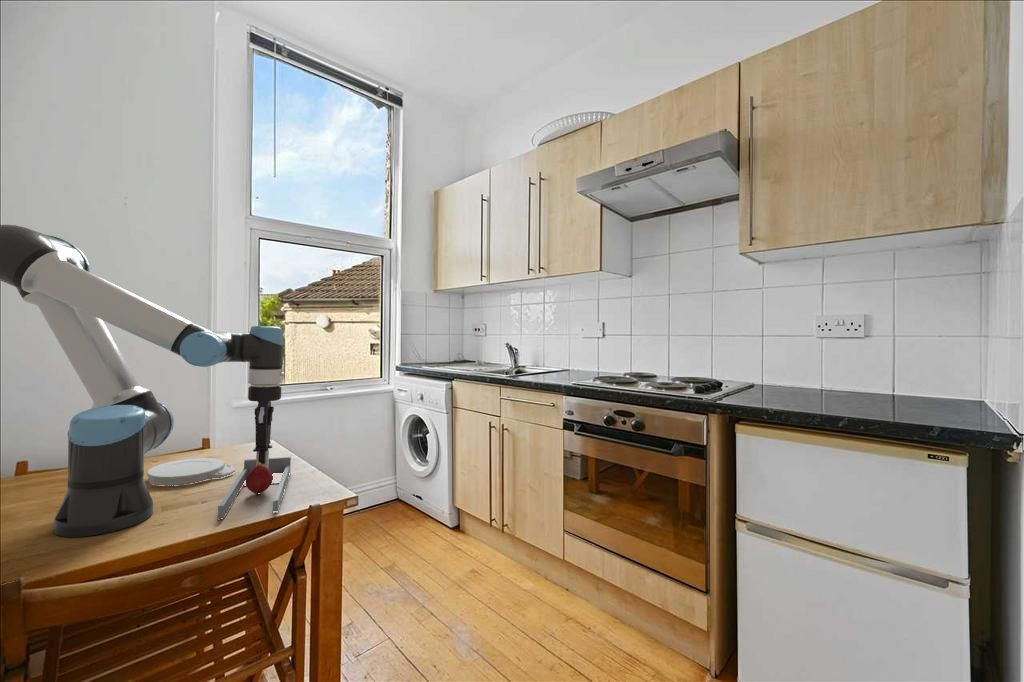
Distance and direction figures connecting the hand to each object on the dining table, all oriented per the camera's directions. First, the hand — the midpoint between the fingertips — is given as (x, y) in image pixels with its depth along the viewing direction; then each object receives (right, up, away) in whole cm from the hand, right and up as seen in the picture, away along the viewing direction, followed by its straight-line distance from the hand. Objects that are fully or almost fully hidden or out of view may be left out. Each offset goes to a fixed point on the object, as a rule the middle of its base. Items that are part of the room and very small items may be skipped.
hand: (261, 474), depth 112 cm
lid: (-23, -3, +7) cm, 24 cm away
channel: (+2, -3, -5) cm, 6 cm away
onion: (+2, -4, -5) cm, 6 cm away
